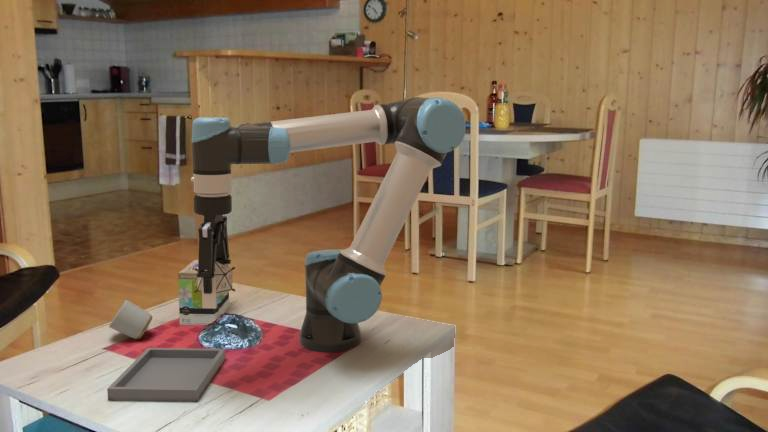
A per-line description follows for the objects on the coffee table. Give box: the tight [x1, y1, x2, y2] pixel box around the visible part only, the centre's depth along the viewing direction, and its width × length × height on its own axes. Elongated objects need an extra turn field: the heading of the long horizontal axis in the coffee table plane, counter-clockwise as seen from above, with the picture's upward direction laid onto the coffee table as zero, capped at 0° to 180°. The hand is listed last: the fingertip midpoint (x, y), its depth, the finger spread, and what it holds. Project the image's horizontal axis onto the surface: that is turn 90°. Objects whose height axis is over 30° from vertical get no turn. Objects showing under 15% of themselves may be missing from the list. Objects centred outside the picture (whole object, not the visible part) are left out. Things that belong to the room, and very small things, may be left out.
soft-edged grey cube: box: [108, 299, 153, 340], centre depth 173 cm, size 11×8×8 cm
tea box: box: [177, 259, 230, 326], centre depth 187 cm, size 15×10×15 cm
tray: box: [106, 347, 226, 403], centre depth 148 cm, size 18×22×2 cm
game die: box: [194, 261, 236, 301], centre depth 143 cm, size 9×8×10 cm
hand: (215, 300), depth 144 cm, fingers closed on game die, 9 cm apart
